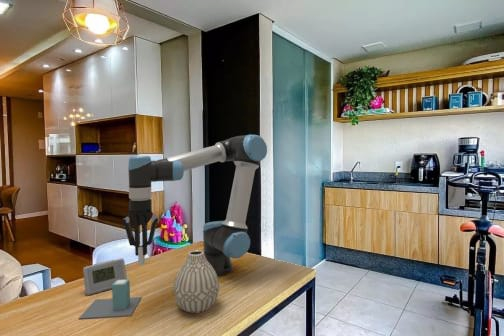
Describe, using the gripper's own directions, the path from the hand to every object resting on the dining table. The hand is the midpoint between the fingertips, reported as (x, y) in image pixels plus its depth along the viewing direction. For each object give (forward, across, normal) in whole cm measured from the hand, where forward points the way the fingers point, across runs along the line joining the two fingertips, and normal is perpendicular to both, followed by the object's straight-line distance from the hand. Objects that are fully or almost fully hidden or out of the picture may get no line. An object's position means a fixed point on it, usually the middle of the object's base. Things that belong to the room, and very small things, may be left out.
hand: (141, 264), depth 107 cm
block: (+15, +7, 0) cm, 17 cm away
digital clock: (+16, +19, -17) cm, 30 cm away
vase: (+16, -20, +3) cm, 26 cm away
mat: (+16, +11, 0) cm, 19 cm away
